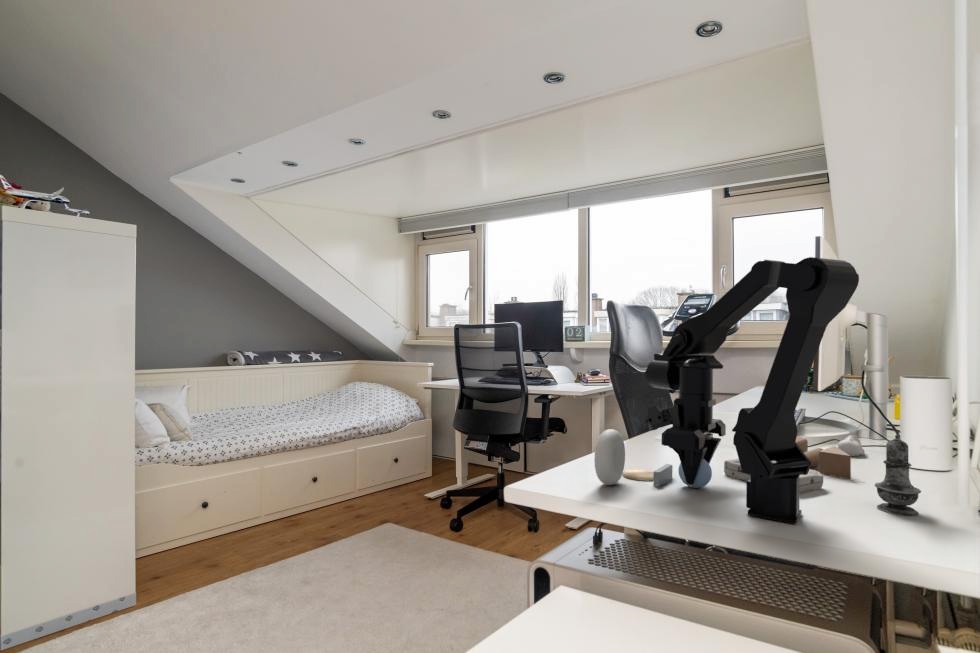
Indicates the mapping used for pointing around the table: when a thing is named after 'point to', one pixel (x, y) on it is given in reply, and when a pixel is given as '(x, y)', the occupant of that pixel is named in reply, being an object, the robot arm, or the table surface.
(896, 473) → the grey stone finial
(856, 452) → the pale two-lobed sculpture
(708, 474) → the ball
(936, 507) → the table surface
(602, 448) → the white plump rounded part
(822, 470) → the wooden block set
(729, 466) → the handheld gaming console
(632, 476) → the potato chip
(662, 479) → the gray rectangular bar
